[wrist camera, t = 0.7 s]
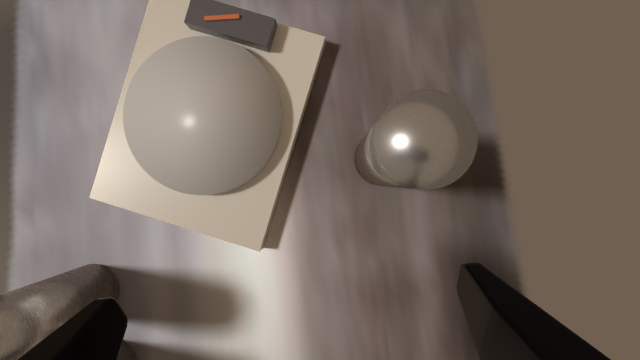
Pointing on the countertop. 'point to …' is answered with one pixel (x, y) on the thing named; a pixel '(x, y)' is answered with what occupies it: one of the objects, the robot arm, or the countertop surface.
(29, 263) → the countertop surface
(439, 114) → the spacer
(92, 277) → the spacer
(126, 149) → the scale
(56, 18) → the countertop surface
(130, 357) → the spacer
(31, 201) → the countertop surface
